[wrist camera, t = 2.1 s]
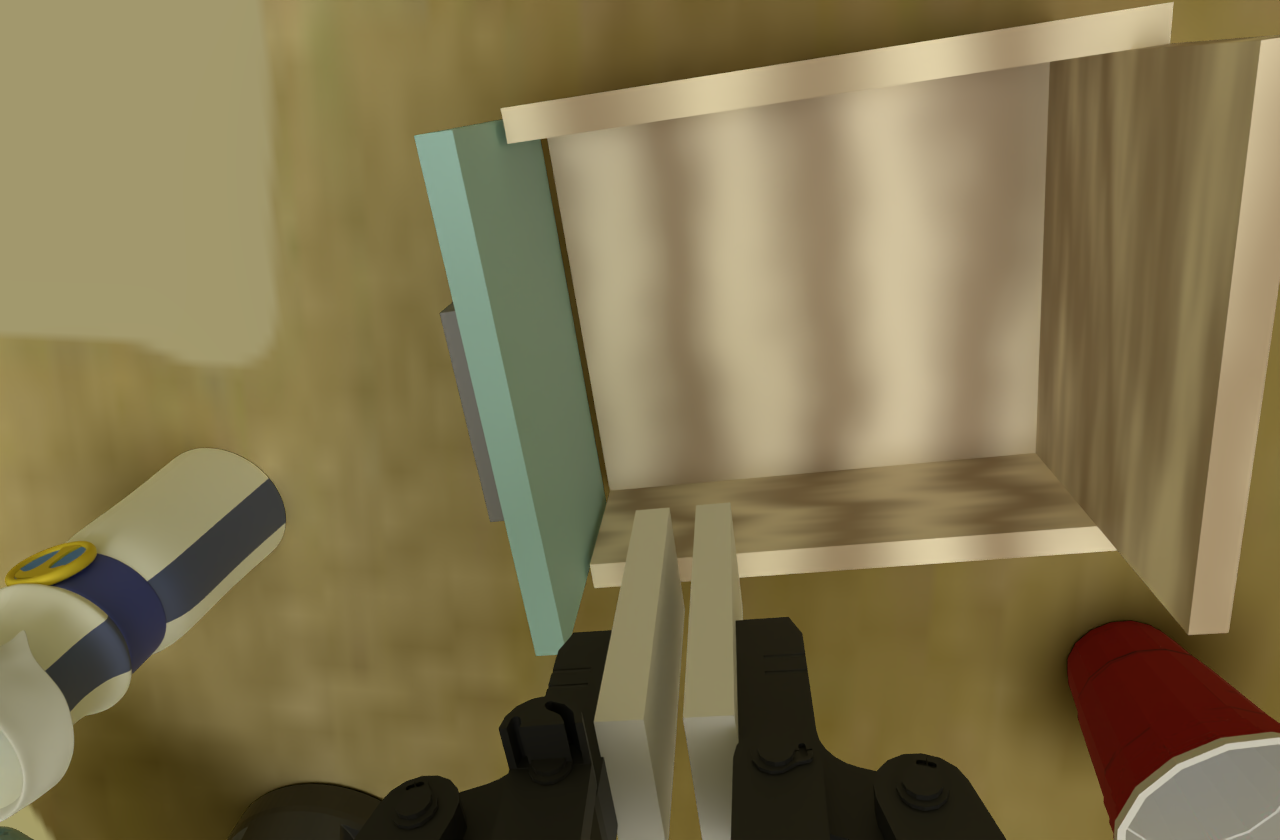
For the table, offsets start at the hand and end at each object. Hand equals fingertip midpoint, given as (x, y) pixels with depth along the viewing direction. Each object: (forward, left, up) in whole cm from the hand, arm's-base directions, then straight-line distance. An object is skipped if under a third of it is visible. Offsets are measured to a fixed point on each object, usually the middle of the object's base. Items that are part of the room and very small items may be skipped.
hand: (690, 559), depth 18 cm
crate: (+5, 0, -24) cm, 25 cm away
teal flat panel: (-7, 0, -21) cm, 23 cm away
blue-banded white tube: (-30, -9, -25) cm, 40 cm away
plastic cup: (+21, -24, -25) cm, 40 cm away
